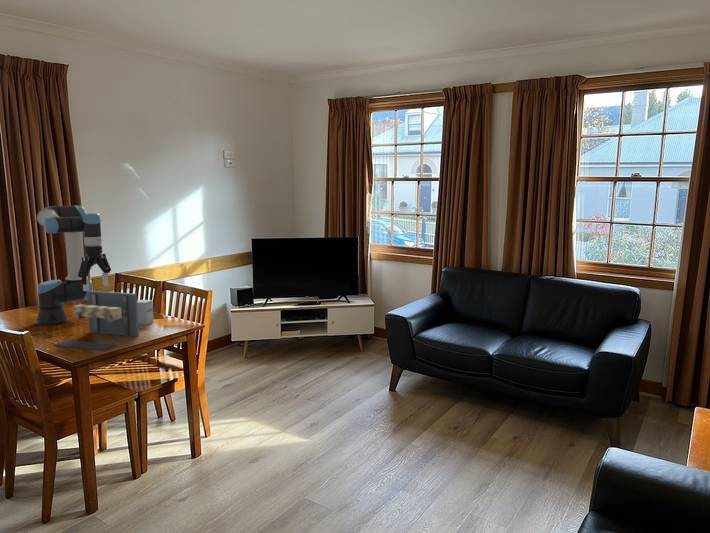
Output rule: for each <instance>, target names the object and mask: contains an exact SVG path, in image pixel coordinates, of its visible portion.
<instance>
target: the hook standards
mask: <svg viewBox="0 0 710 533" xmlns="http://www.w3.org/2000/svg"><path fill="white" fill-rule="evenodd" d="M92 305H95V306H98V299H97V294H92ZM123 313H124V314H122V317H121V318H123V317H124V331H125V335H124V337H126V338H127V337H131V336H130V324H129V307H128V296H123ZM74 318H75V320H82V319H85V318H86V317H82V316H80V313H75V316H74ZM121 318H119V319H121ZM93 320H94V333H93V334H96V335H99V334H101V333H100V329H99V318H94V317H93ZM115 320H118V319H112V315H107V322H113V321H115Z"/></svg>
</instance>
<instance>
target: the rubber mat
mask: <svg viewBox="0 0 710 533" xmlns="http://www.w3.org/2000/svg"><path fill="white" fill-rule="evenodd" d="M53 346H54V347H61V348H73V349H83V350H94V351H103V352H105V351H108V350H110V349H112V348H115V347H116V346H117V344H113V343H103V342H93V341H84V340H83V341H80V340H72V339H71V340H70V339H65V340H63V341H62V340H61V341H60V342H57V343H55V344H53Z"/></svg>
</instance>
